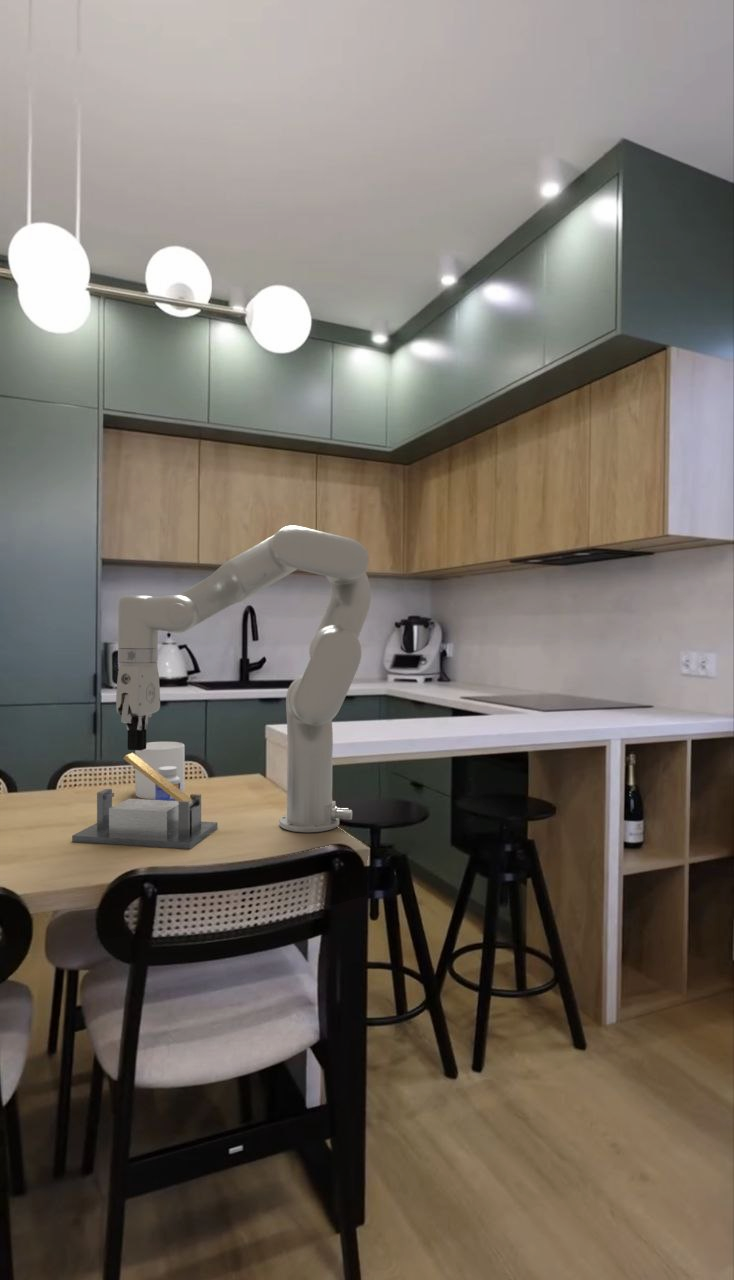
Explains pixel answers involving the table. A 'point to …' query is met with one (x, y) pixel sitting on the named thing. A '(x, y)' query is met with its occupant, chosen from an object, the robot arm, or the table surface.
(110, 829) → the base
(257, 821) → the table surface
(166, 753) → the cup
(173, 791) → the strap
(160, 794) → the pill bottle
